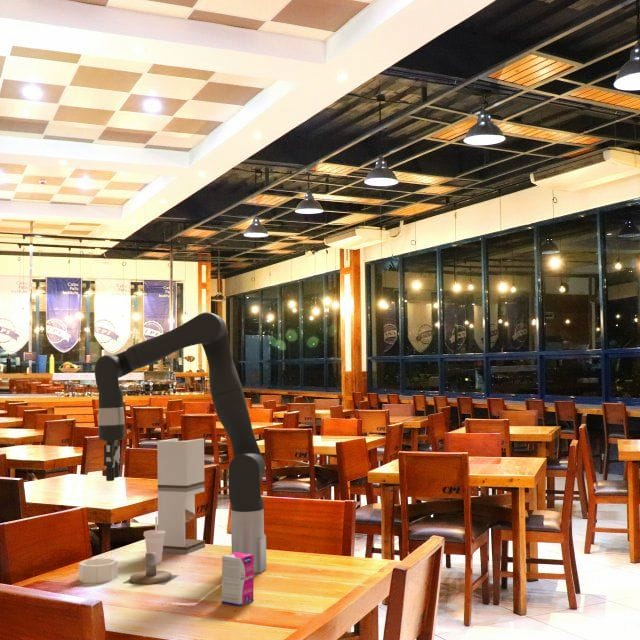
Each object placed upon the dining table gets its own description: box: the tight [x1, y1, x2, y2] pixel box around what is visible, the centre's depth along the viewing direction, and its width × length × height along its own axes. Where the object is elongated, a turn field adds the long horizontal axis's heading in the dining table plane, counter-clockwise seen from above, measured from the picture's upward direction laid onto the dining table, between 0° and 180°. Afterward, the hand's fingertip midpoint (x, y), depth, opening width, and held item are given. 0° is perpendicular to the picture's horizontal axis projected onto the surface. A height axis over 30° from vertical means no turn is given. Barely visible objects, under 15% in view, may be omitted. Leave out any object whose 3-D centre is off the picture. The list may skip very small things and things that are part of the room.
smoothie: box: [143, 516, 165, 565], centre depth 246 cm, size 6×6×14 cm
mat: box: [122, 574, 179, 586], centre depth 225 cm, size 12×10×1 cm
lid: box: [129, 551, 173, 585], centre depth 225 cm, size 11×11×7 cm
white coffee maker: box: [156, 437, 206, 555], centre depth 268 cm, size 11×11×35 cm
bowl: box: [78, 557, 119, 584], centre depth 227 cm, size 10×10×5 cm
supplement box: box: [221, 552, 255, 607], centre depth 203 cm, size 6×6×12 cm
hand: (112, 479), depth 241 cm, fingers open, 8 cm apart
